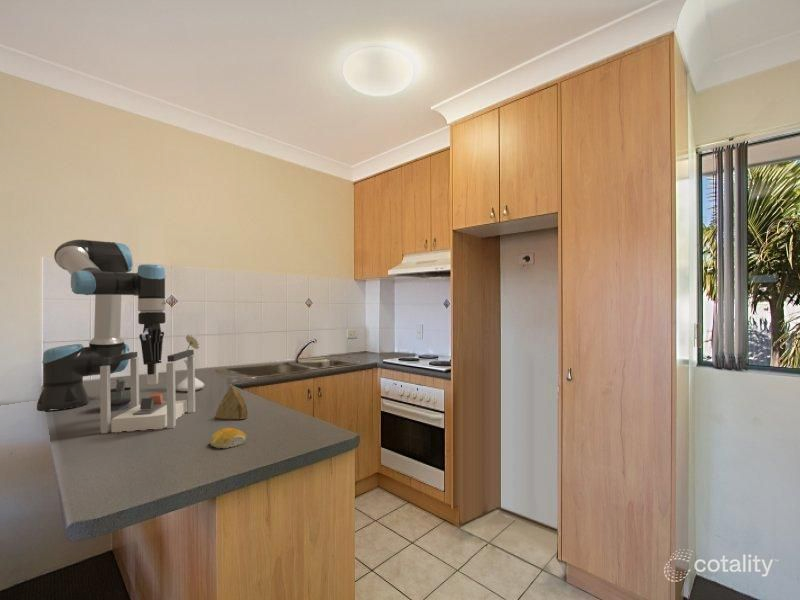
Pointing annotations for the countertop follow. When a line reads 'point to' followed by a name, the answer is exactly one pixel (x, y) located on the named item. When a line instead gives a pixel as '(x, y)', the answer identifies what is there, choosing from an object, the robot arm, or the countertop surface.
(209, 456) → the countertop surface
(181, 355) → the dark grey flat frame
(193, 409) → the white grey open frame
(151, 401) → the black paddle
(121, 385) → the mortar and pestle
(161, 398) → the terracotta block
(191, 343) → the flower in vase
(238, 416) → the rock
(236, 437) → the bread roll
